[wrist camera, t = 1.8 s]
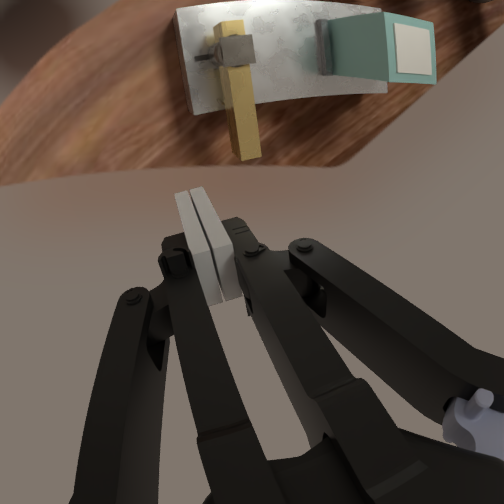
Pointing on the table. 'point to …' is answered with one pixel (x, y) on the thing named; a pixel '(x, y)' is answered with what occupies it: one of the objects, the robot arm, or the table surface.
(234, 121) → the hammer with yellow handle
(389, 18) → the mint green box
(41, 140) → the table surface
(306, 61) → the white base platform
